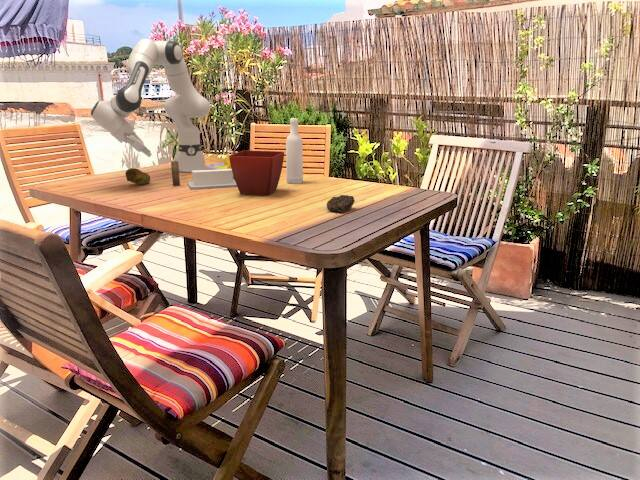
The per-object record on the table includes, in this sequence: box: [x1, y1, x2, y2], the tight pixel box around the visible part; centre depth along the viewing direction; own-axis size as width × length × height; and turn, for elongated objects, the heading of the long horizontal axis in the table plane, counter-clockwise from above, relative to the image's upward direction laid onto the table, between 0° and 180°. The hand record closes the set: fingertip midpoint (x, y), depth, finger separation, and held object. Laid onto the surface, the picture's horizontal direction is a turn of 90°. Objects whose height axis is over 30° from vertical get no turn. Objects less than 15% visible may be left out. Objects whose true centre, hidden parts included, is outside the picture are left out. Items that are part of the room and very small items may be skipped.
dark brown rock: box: [326, 194, 356, 214], centre depth 196 cm, size 12×10×5 cm
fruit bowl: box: [206, 153, 234, 179], centre depth 267 cm, size 28×27×11 cm
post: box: [170, 160, 181, 187], centre depth 243 cm, size 3×3×11 cm
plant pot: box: [228, 149, 285, 196], centre depth 226 cm, size 19×19×17 cm
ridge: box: [186, 169, 238, 191], centre depth 243 cm, size 14×22×7 cm, turn 110°
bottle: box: [285, 117, 304, 185], centre depth 248 cm, size 8×8×30 cm
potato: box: [125, 167, 151, 186], centre depth 245 cm, size 8×13×8 cm, turn 137°
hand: (150, 154), depth 237 cm, fingers open, 8 cm apart
